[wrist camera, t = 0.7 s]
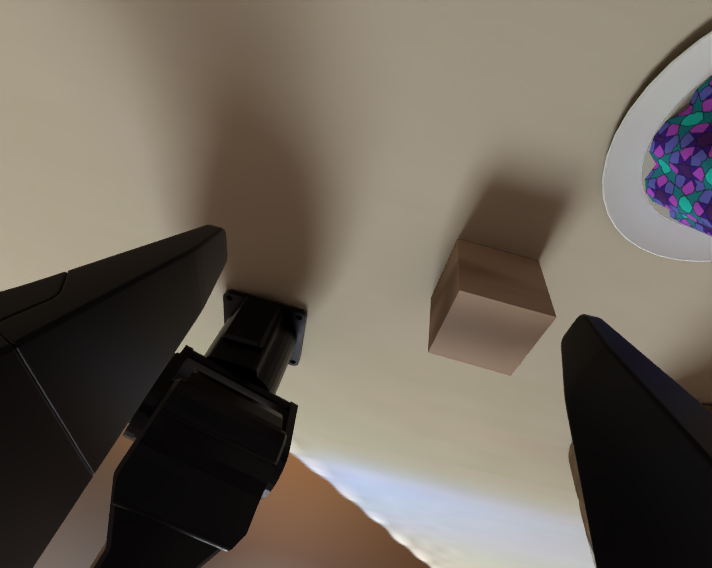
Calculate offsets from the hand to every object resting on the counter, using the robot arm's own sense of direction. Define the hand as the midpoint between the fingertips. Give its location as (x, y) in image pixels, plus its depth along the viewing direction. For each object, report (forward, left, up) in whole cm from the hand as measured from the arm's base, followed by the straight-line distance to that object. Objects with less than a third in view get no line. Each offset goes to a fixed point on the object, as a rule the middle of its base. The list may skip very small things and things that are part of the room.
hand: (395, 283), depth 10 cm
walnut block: (-8, -6, -13) cm, 17 cm away
